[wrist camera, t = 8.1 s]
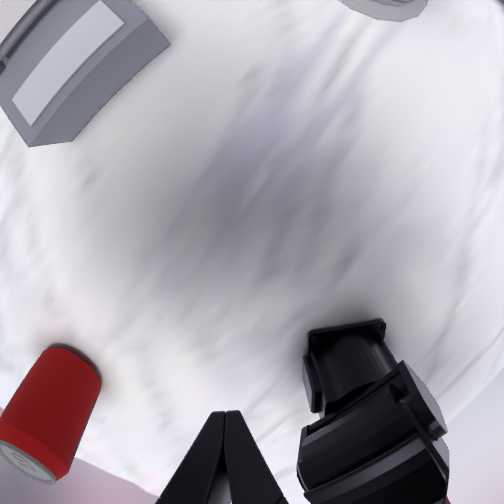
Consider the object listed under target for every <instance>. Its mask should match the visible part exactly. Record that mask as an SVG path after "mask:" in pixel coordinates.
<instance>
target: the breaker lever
mask: <svg viewBox="0 0 504 504" xmlns="http://www.w3.org/2000/svg"><path fill="white" fill-rule="evenodd" d="M52 1H53V0H0V61H3V59H4V58H5V57H6V55H7V54H8V53H9V51H10V50H11V49H12V47H13V46H14V45H15V43H16V42H17V41H18V39H19V38H20V37H21V36H22V34H23V33H24V32H25V31H26V30H27V28H28V27H29V26H30V25H31V24H32V23H33V21H34V20H35V19H36V18H37V17H38V16H39V15H40V14H41V12H42V11H43V10H44V9H45V8H46V7H47V6H48V5H49V4H50V3H51V2H52Z"/></svg>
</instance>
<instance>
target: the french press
mask: <svg viewBox="0 0 504 504" xmlns="http://www.w3.org/2000/svg"><path fill="white" fill-rule="evenodd" d="M339 1H341V2H342V3H343V4H345V5H346V6H348V7H349V8H350V9H352V10H355V11H357V12H360V13H363V14H365V15H368V16H370V17H372V18H375V19H377V20H388V21H397V22H402V21H405V20H408V19H411V18H414V17H417V16H419V14H420V13H421V12H422V10H423V9H424V8H425V6H426V5H427V0H339Z"/></svg>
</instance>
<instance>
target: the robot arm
mask: <svg viewBox="0 0 504 504" xmlns="http://www.w3.org/2000/svg"><path fill="white" fill-rule="evenodd" d="M379 325H381V326H380V327H378V326H379ZM385 330H386V323H385V322H384V321H383V320H382V319H379V320H373V321H368V322H363V323H357V324H351V325H345V326H339V327H333V328H326V329H320V330H313V331H311V332H309V333H308V335H307V355H304V357H303V381H304V386H305V390H306V394H307V398H308V402H309V406H310V411H311V412H312V413H319V416H320V420H318V421H316V422H315V423H313V424H311V425H307V426H305V427H304V428H302V431H301V438H300V446H299V453H298V461H297V477H298V479H299V482H300V484H301V486H302V488H303V490H304V491H305V492H304V497H305V498H306V499H307V500H308V501H309V502H310V503H311V504H450V502H449V500H448V498H447V489H448V479H449V450H448V447H447V446H446V444H445V442H444V441H443V439H442V436H443V435H444V434H446V433H447V432H448V431H447V427H446V424H445V421H444V418H443V416H442V413H441V410H440V407H439V405H438V404H437V402H436V401H435V399H434V397H433V396H432V394H431V393H430V391H429V390H428V388H427V387H426V385H425V384H424V383H423V382H422V381H421V380H420V378H419V377H418V376H417V375H416V374H415V373H414V372H413V370H412V369H411V368H410V367H409V366H408V365H407V364H406V362H405V361H404V360H402V361H401V362H400V363H397V361H396V360H395V358H394V356H393V355H392V353H391V351H390V350H389V348H388V346H387V345H386V343H385V342H384V336H385ZM313 336H316V337H315V338H312V337H313ZM231 501H232V504H289V503H288V502H287V500H286V498H285V497H284V496H283V493H282V491H281V489H280V488H279V486H278V484H277V482H276V480H275V479H274V477H273V475H272V473H271V471H270V469H269V467H268V466H267V464H266V462H265V460H264V458H263V456H262V454H261V452H260V450H259V448H258V446H257V444H256V442H255V441H254V439H253V437H252V435H251V433H250V431H249V429H248V427H247V424H246V422H245V420H244V418H243V416H242V414H241V412H240V411H239V410H232V411H227V412H225V411H215V412H212V413H211V414H210V416H209V417H208V419H207V421H206V422H205V424H204V426H203V427H202V429H201V431H200V432H199V434H198V436H197V437H196V439H195V441H194V442H193V444H192V446H191V447H190V449H189V451H188V452H187V454H186V456H185V457H184V459H183V460H182V462H181V464H180V465H179V467H178V468H177V470H176V472H175V473H174V475H173V476H172V478H171V480H170V481H169V483H168V484H167V486H166V488H165V489H164V491H163V492H162V494H161V495H160V498H158V500H157V501H156V503H155V504H231Z"/></svg>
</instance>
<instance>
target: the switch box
mask: <svg viewBox="0 0 504 504" xmlns="http://www.w3.org/2000/svg"><path fill="white" fill-rule="evenodd" d="M169 45H170V43H169V42H168V40H167V39H166V38H165V37H164V35H163V34H162V33H161V32H160V31H159V29H158V28H157V27H156V26H155V24H154V23H153V22H152V21H151V20H150V18H149V17H148V16H147V15H146V14H145V13H144V12H142V11H141V10H140V9H139V8H138V7H137V6H136V5H135V4H134V3H133V2H132V1H131V0H53V1H52V2H51V3H50V4H49V5H48V6H47V7H46V8H45V9H44V10H43V11H42V12H41V14H40V15H39V16H38V17H37V18H36V19H35V20H34V21H33V23H32V24H31V25H30V26H29V27H28V28H27V30H26V31H25V32H24V33H23V34H22V36H21V37H20V38H19V39H18V41H17V42H16V43H15V45H14V46H13V47H12V49H11V50H10V51H9V53H8V54H7V55H6V57H5V58H4V59H3V61H0V106H1V107H2V109H3V111H4V112H5V114H6V115H7V117H8V118H9V120H10V121H11V123H12V124H13V126H14V127H15V129H16V130H17V132H18V133H19V134H20V136H21V137H22V139H23V140H24V142H25V143H26V144H27V146H28V147H35V146H42V145H49V144H56V143H64V142H72V141H73V140H74V138H75V137H76V136H77V135H78V134H79V132H80V131H81V130H82V129H83V128H84V127H85V126H86V124H87V123H88V122H89V121H90V120H91V119H92V118H93V117H94V115H95V114H96V113H97V112H98V111H99V110H100V109H101V108H102V107H103V106H104V105H105V104H106V103H107V102H108V101H109V100H110V99H111V98H112V97H113V96H114V95H115V94H116V93H117V92H118V91H119V90H120V89H121V88H122V87H123V86H124V85H125V84H126V83H127V82H128V81H129V80H130V79H131V78H132V77H133V76H134V75H135V74H136V73H138V72H139V71H140V70H141V69H142V68H143V67H144V66H145V65H147V64H148V63H149V62H150V61H151V60H152V59H153V58H155V57H156V56H157V55H158V54H159V53H161V52H162V51H163V50H164V49H165V48H167V47H168V46H169Z"/></svg>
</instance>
